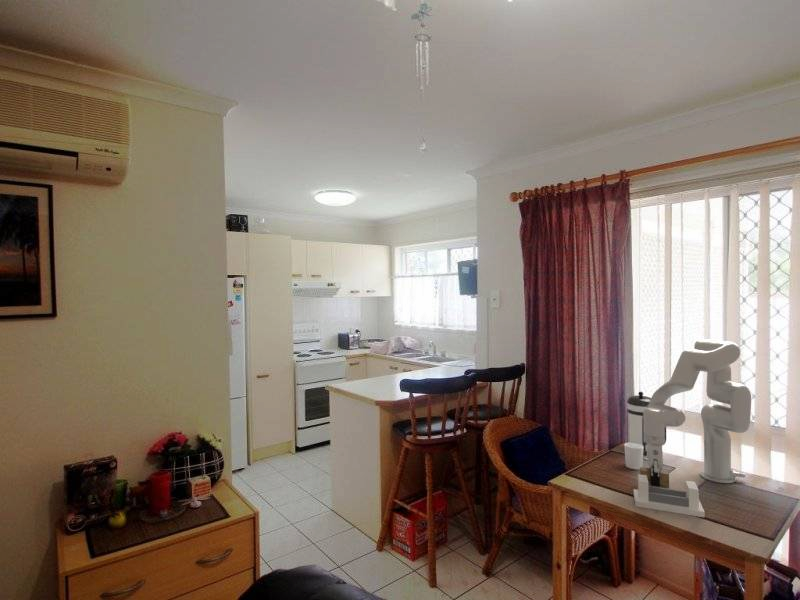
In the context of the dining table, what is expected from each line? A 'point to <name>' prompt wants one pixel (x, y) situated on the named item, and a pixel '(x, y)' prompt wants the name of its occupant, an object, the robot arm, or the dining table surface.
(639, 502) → the track frame
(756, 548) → the dining table surface
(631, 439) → the coffee press
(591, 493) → the dining table surface
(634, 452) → the white cup
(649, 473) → the brown wooden block
